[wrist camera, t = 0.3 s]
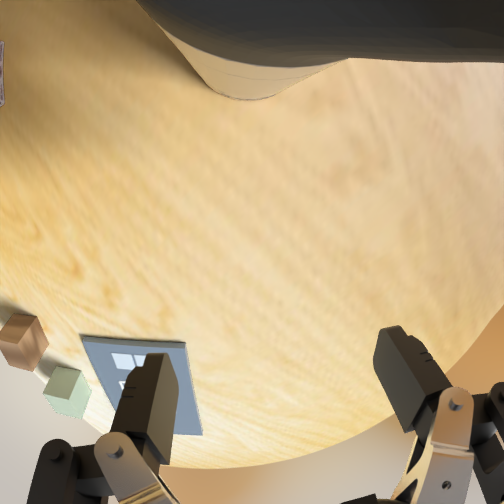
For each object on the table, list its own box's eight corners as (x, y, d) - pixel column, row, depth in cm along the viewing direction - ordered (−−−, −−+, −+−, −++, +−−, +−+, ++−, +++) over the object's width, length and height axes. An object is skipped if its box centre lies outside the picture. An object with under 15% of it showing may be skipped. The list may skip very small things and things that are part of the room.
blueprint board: (84, 336, 33) (81, 341, 32) (185, 342, 34) (184, 348, 33) (126, 424, 43) (125, 429, 42) (202, 430, 43) (202, 435, 42)
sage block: (56, 366, 36) (42, 393, 30) (81, 370, 36) (68, 399, 31) (67, 386, 38) (56, 412, 33) (92, 390, 38) (81, 419, 33)
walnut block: (14, 313, 31) (-6, 338, 26) (37, 316, 32) (17, 344, 26) (26, 339, 33) (9, 365, 28) (49, 343, 34) (32, 371, 28)
